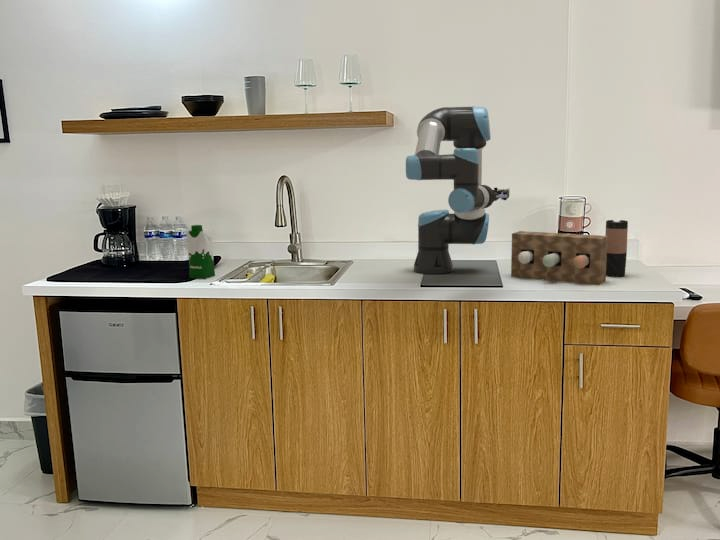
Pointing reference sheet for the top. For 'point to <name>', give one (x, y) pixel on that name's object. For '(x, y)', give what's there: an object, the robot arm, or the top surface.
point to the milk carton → (200, 252)
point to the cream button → (526, 256)
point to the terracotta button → (582, 260)
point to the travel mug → (616, 247)
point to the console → (567, 249)
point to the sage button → (551, 259)
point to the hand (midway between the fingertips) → (507, 192)
